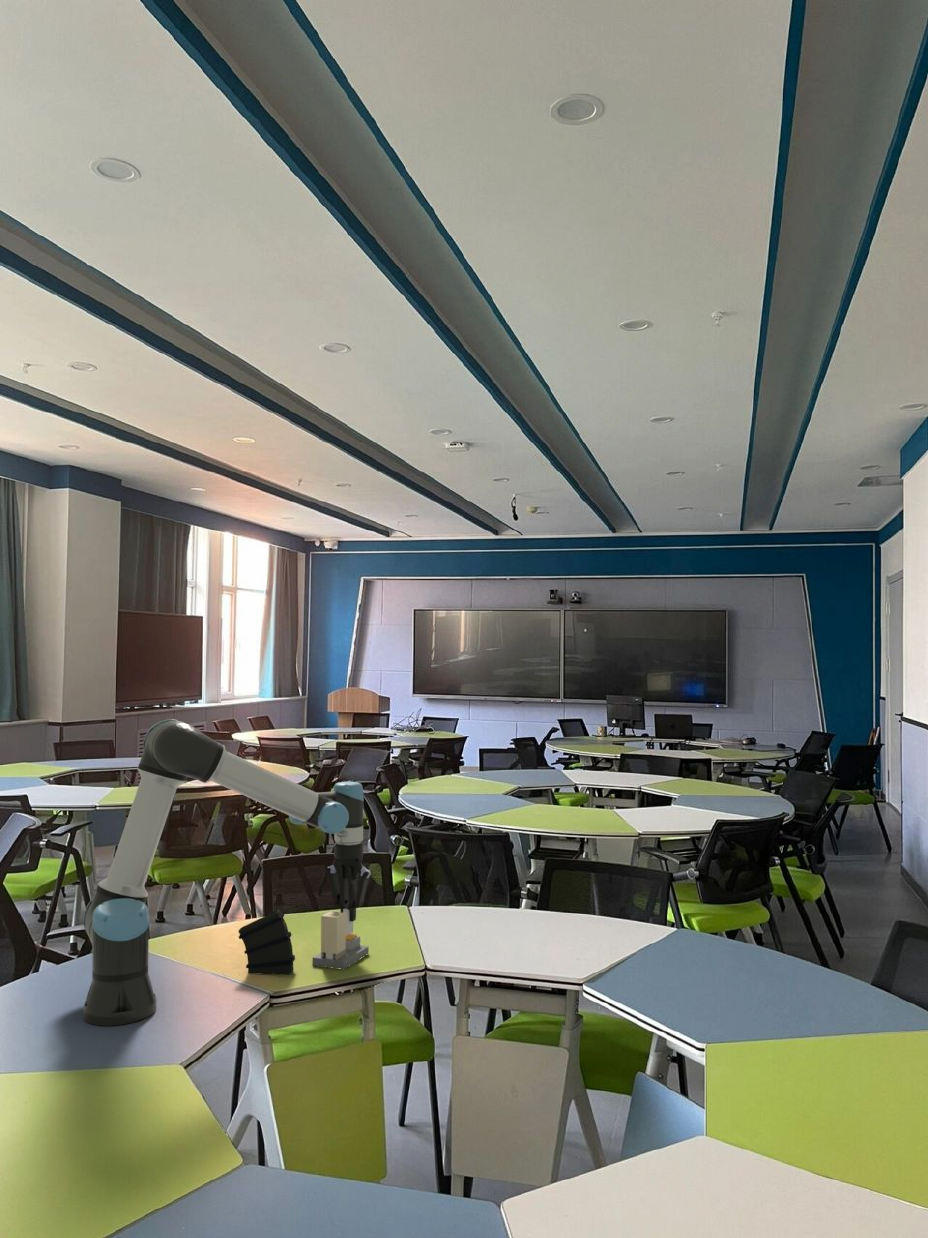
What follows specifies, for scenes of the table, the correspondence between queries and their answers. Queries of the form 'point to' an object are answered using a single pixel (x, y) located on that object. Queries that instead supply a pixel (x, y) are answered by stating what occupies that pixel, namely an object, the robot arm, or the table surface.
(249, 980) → the table surface
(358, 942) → the rail cradle
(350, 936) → the button
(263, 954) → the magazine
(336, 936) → the block
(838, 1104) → the table surface
